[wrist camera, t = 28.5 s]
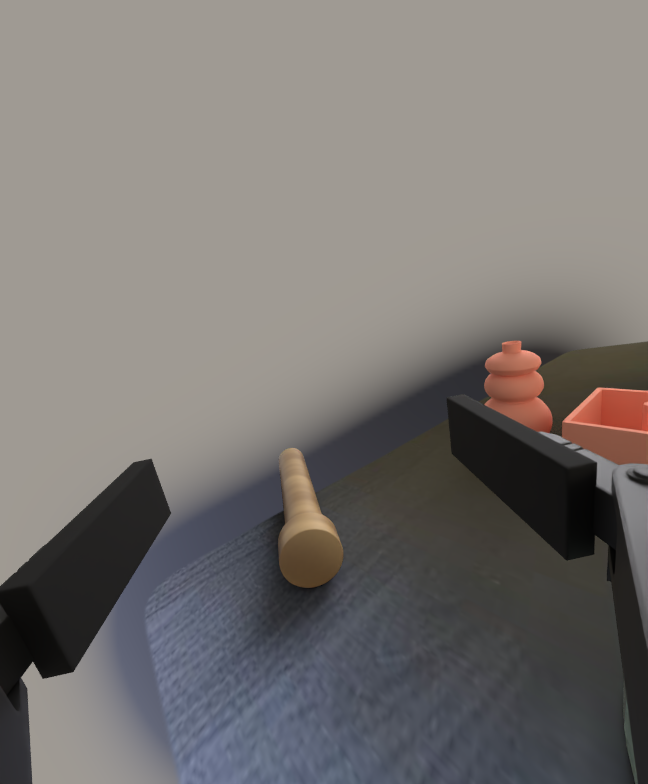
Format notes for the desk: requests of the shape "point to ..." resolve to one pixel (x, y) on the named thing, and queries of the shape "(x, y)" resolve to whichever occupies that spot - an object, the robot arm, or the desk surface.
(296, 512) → the pestle
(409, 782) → the desk surface
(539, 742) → the desk surface
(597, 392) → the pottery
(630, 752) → the bowl
